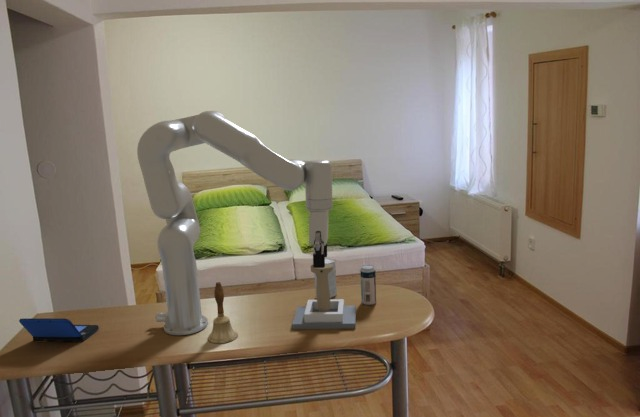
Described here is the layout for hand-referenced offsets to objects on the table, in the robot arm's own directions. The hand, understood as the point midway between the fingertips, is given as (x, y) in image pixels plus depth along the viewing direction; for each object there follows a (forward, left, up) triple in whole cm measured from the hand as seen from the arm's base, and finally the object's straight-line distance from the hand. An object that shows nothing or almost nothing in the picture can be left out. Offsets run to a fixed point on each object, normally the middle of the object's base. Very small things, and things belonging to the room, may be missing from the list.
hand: (320, 262), depth 148 cm
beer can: (+14, +12, -18) cm, 26 cm away
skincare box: (0, +18, -18) cm, 26 cm away
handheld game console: (-75, -11, -18) cm, 78 cm away
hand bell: (-27, -11, -18) cm, 35 cm away
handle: (0, 0, -16) cm, 16 cm away
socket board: (+1, 0, -18) cm, 18 cm away
